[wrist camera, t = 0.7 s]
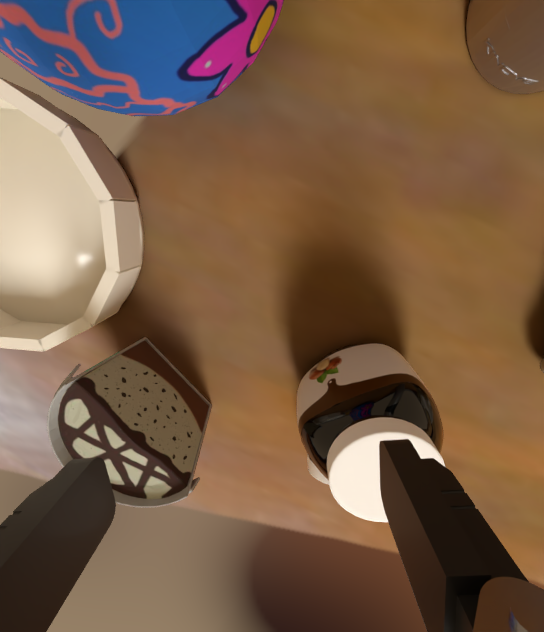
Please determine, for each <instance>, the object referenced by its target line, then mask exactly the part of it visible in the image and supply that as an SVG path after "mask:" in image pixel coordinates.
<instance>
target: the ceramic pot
mask: <svg viewBox="0 0 544 632" xmlns="http://www.w3.org/2000/svg"><path fill="white" fill-rule="evenodd" d="M283 1H284V0H0V52H2V53H3V54H4V55H6V56H7V57H8V58H9V59H11V60H12V61H14V62H15V63H16V64H18V65H19V66H21V67H22V68H24V69H25V70H26V71H28V72H29V73H31V74H32V75H34V76H35V77H36V78H38V79H39V80H41V81H42V82H44V83H45V84H46V85H48V86H49V87H51V88H52V89H54V90H56V91H57V92H59V93H61V94H62V95H65V96H67V97H70V98H72V99H75V100H77V101H80V102H82V103H84V104H87V105H89V106H92V107H95V108H97V109H101V110H106V111H111V112H116V113H120V114H125V115H131V116H154V115H174V114H177V113H179V112H181V111H184V110H186V109H189V108H191V107H194V106H196V105H199V104H201V103H203V102H206V101H208V100H211V99H213V98H216V97H218V96H219V95H220V94H221V93H222V92H223V91H224V90H225V89H226V88H227V87H228V86H229V85H230V84H231V83H232V82H233V81H235V80H236V79H237V78H238V77H239V76H240V75H241V74H242V73H243V72H244V71H245V70H246V69H247V68H248V67H249V66H250V65H251V64H252V63H253V62H254V60H255V59H256V57H257V55H258V53H259V52H260V50H261V48H262V47H263V45H264V43H265V41H266V40H267V38H268V36H269V34H270V33H271V31H272V29H273V27H274V26H275V24H276V22H277V20H278V17H279V14H280V11H281V8H282V4H283Z"/></svg>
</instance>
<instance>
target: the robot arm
mask: <svg viewBox="0 0 544 632" xmlns="http://www.w3.org/2000/svg"><path fill="white" fill-rule="evenodd" d="M466 32H467V44H468V48H469V52H470V56H471V59H472V61H473V63H474V65H475V66H476V68H477V70H478V72H479V73H480V74H481V75H482V76H483V77H484V78H485V80H486V81H487V82H489V83H490V84H492V85H493V86H495V87H496V88H498V89H500V90H503V91H507V92H510V93H518V94H529V93H534V92H539V91H543V90H544V0H470V4H469V7H468V15H467V23H466ZM379 460H380V491H381V498H382V503H383V507H384V511H385V514H386V517H387V519H388V522H389V525H390V528H391V531H392V533H393V536H394V539H395V542H396V545H397V548H398V550H399V553H400V556H401V559H402V561H403V564H404V567H405V570H406V573H407V576H408V578H409V581H410V584H411V587H412V589H413V592H414V595H415V598H416V601H417V604H418V606H419V609H420V612H421V615H422V618H423V620H424V623H425V626H426V629H427V632H544V590H543V589H541V588H539V587H538V586H536V585H534V584H531V583H529V581H528V580H527V579H526V578H525V576H524V575H523V574H522V572H521V571H520V569H519V568H518V566H517V565H516V564H515V562H514V561H513V559H512V558H511V556H510V555H509V554H508V552H507V551H506V549H505V548H504V546H503V545H502V543H501V542H500V541H499V539H498V538H497V536H496V535H495V533H494V532H493V531H492V529H491V528H490V526H489V525H488V523H487V522H486V521H485V519H484V518H483V516H482V515H481V513H480V512H479V510H478V509H476V508H475V505H474V503H473V502H472V500H471V499H470V498H469V496H468V495H467V493H465V492H464V489H463V488H462V486H461V485H460V483H459V482H458V480H457V479H456V477H455V476H454V475H453V473H452V472H451V471H450V470H448V469H447V468H446V467H445V466H443V465H442V464H441V463H439V462H438V461H437V460H435V459H434V458H425V459H421V458H420V456H419V454H418V453H417V451H416V449H415V448H414V446H413V444H412V443H411V441H410V440H409V439H400V440H384V441H380V444H379ZM115 507H116V503H115V497H114V493H113V490H112V486H111V483H110V479H109V475H108V472H107V468H106V464H105V462H104V460H103V459H102V458H99V457H98V458H82V459H73V460H71V461H69V462H68V463H67V464H66V465H65V466H64V467H63V468H62V469H61V471H60V472H59V473H58V474H57V475H56V476H55V477H54V478H53V479H51V480H50V481H48V482H47V483H46V484H44V485H43V486H41V487H40V488H39V489H37V490H36V491H34V492H33V493H31V494H30V495H29V496H28V497H27V498H26V499H25V500H24V501H23V502H22V503H21V504H20V505H19V506H18V507H17V508H16V509H15V510H14V511H13V515H10V516H8V518H7V519H6V520H5V521H4V522H3V523H2V524H1V525H0V632H46V631H47V630H48V628H49V626H50V625H51V623H52V621H53V620H54V618H55V616H56V615H57V613H58V611H59V610H60V608H61V606H62V605H63V603H64V601H65V600H66V598H67V596H68V595H69V593H70V591H71V590H72V588H73V586H74V585H75V583H76V581H77V580H78V578H79V576H80V575H81V573H82V572H83V570H84V568H85V566H86V565H87V563H88V562H89V559H90V558H91V557H92V555H93V553H94V552H95V550H96V548H97V546H98V545H99V543H100V542H101V540H102V538H103V536H104V535H105V533H106V532H107V530H108V528H109V527H110V525H111V523H112V521H113V518H114V514H115Z"/></svg>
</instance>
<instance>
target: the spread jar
mask: <svg viewBox="0 0 544 632" xmlns="http://www.w3.org/2000/svg"><path fill="white" fill-rule="evenodd" d="M297 423H298V428H299V433H300V436H301V440H302V443H303V445H304V447H305V449H306V451H307V457H308V470H309V472H310V474H311V475H312V476H313V477H314V478H316V479H317V480H319V481H321V482H323V483H325V484H329V485H330V490H331V492H332V494H333V496H334V498H335V499H336V501H337V502H338V503H339V504H340V505H341V506H342V507H343V508H344V509H345V510H346V511H348V512H350V513H352V514H353V515H355V516H357V517H360V518H363V519H365V520H370V521H375V522H388V519H387V517H386V514H385V511H384V507H383V503H382V498H381V491H380V460H379V444H380V441H384V440H400V439H409V440H410V441H411V443H412V444H413V446H414V448H415V449H416V451H417V453H418V454H419V456H420V458H421V459H425V458H434V459H435V460H437V461H438V462H439V463H441V464H442V465H443V466H445V464H444V461H443V458H442V457H441V455H440V452H441V449H442V444H443V427H442V422H441V419H440V415H439V412H438V409H437V406H436V404H435V402H434V400H433V398H432V396H431V394H430V392H429V390H428V389H427V387H426V386H425V384H424V383H423V381H422V380H421V378H420V377H419V376H418V374H417V373H416V372H415V370H414V369H413V368H412V367H411V365H410V364H409V363H408V362H407V360H406V359H405V358H404V357H403V356H402V355H401V354H400V353H399V352H397V351H396V350H395V349H393V348H391V347H389V346H387V345H384V344H377V343H364V344H356V345H351V346H346V347H343V348H340V349H338V350H335V351H333V352H331V353H330V354H328V355H326V356H325V357H323V358H322V359H321V360H320V361H318V362H317V363H316V364H315V365H314V366H313V367H312V368H311V369H310V370H309V371H308V372H307V373H306V374H305V376H304V377H303V378H302V380H301V382H300V384H299V387H298V391H297Z"/></svg>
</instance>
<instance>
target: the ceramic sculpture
mask: <svg viewBox="0 0 544 632" xmlns="http://www.w3.org/2000/svg"><path fill="white" fill-rule="evenodd" d="M540 369H541V371H542V372H543V373H544V359H543V360H542V361H541V362H540Z"/></svg>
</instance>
